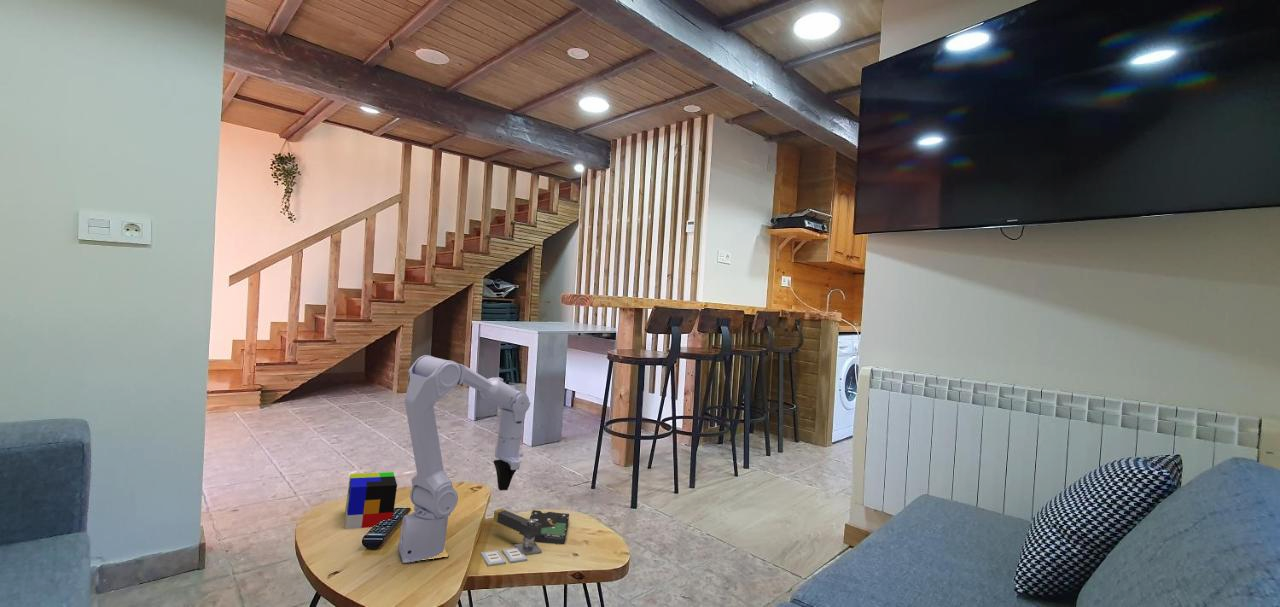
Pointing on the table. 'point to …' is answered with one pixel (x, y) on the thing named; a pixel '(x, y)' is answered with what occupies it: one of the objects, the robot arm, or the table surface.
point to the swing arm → (517, 523)
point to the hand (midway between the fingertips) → (502, 489)
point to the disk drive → (551, 526)
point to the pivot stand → (528, 544)
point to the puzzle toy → (370, 499)
